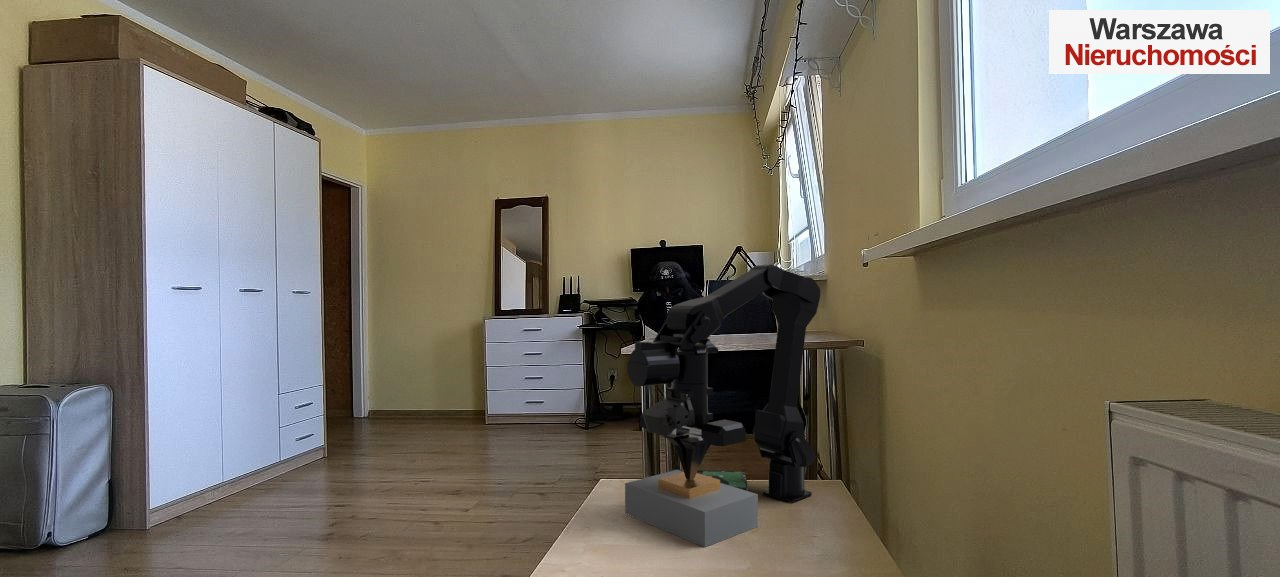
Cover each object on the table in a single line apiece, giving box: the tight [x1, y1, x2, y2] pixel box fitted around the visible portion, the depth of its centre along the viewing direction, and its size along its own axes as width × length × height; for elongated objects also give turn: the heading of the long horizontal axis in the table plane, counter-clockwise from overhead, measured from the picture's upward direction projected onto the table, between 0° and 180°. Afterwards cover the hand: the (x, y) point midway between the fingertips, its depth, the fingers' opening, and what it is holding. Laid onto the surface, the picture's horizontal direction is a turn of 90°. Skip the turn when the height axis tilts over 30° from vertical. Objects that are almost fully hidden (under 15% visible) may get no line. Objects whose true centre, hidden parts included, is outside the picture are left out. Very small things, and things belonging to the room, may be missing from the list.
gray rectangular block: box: [624, 469, 759, 548], centre depth 97 cm, size 12×18×5 cm, turn 41°
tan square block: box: [658, 472, 720, 499], centre depth 97 cm, size 7×7×6 cm
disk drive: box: [668, 469, 749, 491], centre depth 113 cm, size 10×3×15 cm
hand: (690, 479), depth 97 cm, fingers closed
